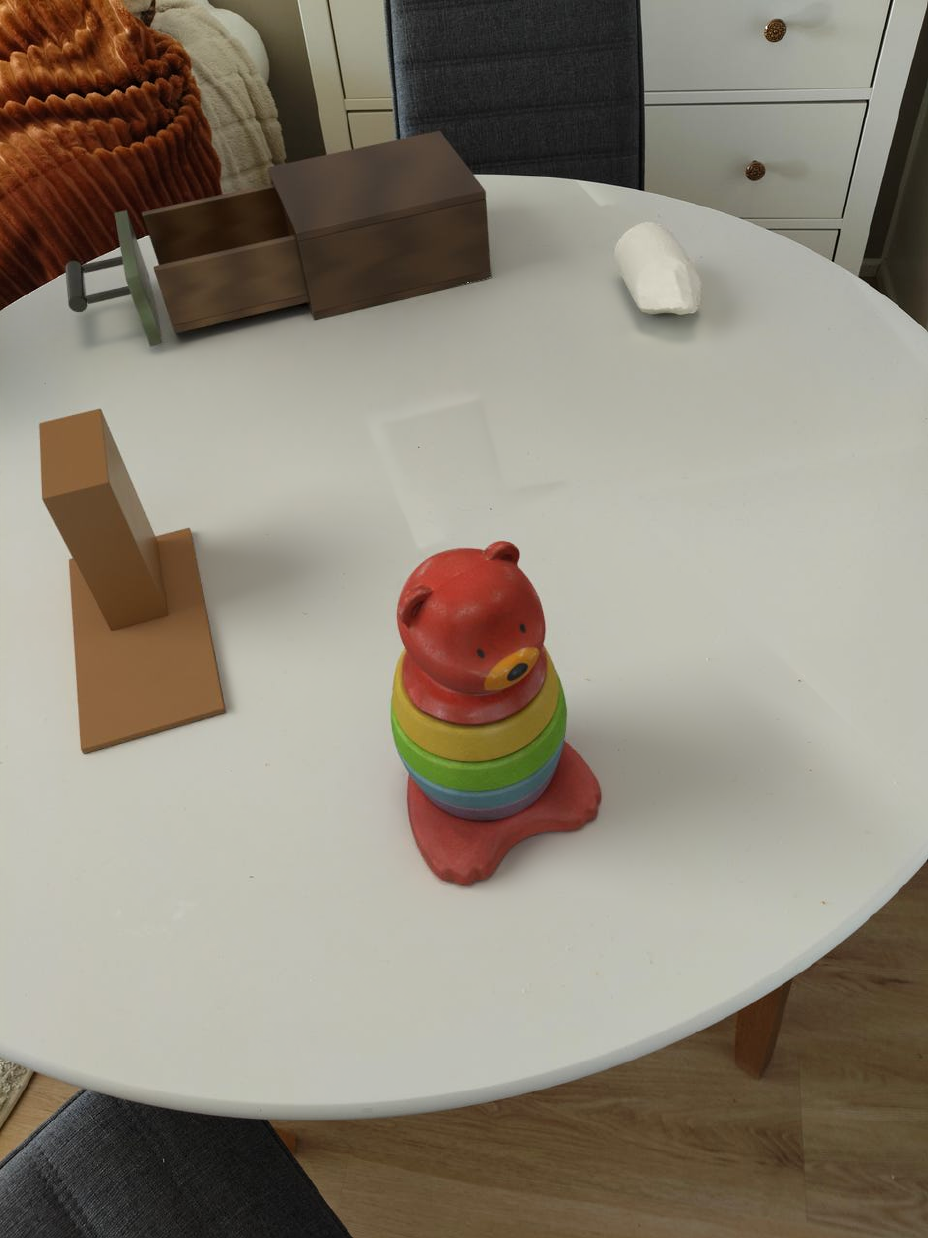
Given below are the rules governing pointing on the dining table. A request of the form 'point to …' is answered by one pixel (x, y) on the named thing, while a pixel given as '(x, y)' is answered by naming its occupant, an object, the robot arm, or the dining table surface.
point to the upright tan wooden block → (101, 518)
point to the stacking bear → (481, 715)
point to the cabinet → (385, 222)
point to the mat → (146, 657)
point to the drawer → (205, 262)
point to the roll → (657, 270)
